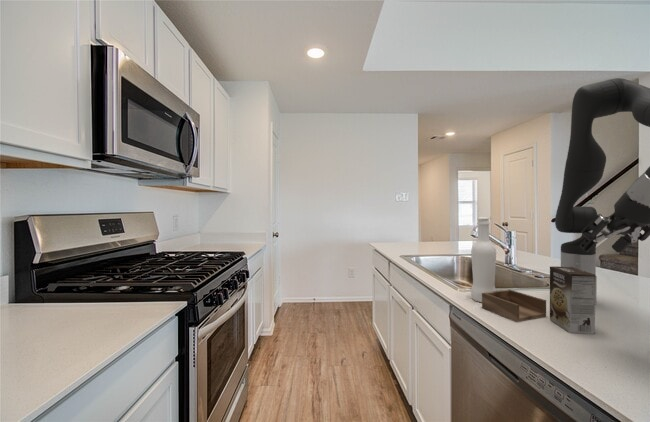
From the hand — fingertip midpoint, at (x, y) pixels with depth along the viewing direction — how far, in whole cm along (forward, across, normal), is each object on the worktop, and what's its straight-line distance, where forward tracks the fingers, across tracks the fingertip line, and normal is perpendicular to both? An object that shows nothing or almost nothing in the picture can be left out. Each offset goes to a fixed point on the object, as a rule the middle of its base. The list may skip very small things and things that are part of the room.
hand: (599, 249), depth 72 cm
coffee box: (+24, -2, +7) cm, 25 cm away
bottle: (+39, +8, -12) cm, 42 cm away
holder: (+32, +6, -2) cm, 32 cm away
